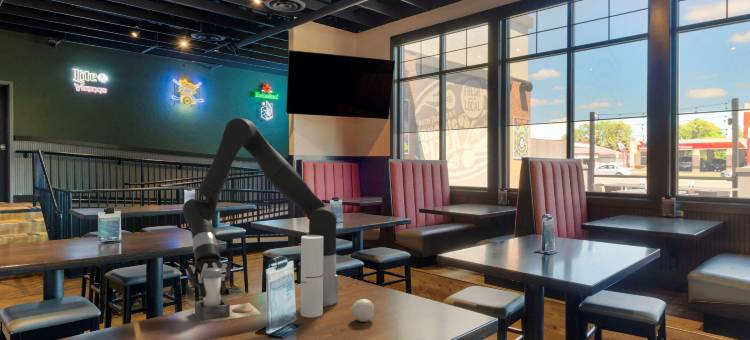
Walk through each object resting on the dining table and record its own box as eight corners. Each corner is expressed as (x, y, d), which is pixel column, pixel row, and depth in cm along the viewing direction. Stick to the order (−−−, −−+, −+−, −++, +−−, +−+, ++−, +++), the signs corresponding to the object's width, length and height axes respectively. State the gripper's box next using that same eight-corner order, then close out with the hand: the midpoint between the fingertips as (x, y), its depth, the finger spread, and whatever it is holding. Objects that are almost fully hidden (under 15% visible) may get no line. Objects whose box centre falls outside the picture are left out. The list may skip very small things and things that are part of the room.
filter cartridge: (219, 310, 146) (219, 266, 146) (223, 315, 142) (223, 270, 142) (201, 313, 144) (201, 268, 143) (204, 318, 139) (204, 272, 139)
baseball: (350, 317, 146) (350, 296, 146) (373, 317, 147) (373, 296, 147) (351, 325, 139) (351, 303, 139) (375, 324, 140) (375, 302, 140)
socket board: (249, 307, 155) (249, 292, 155) (261, 318, 144) (261, 302, 144) (192, 315, 146) (192, 300, 146) (200, 328, 135) (200, 311, 135)
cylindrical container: (318, 318, 145) (319, 238, 145) (297, 316, 146) (297, 238, 146) (325, 311, 152) (326, 235, 152) (305, 309, 153) (305, 234, 153)
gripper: (183, 244, 145) (190, 291, 135) (230, 240, 153) (239, 285, 142) (181, 258, 150) (187, 304, 140) (226, 254, 157) (235, 298, 147)
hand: (213, 294), depth 141 cm, fingers closed on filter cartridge, 5 cm apart
